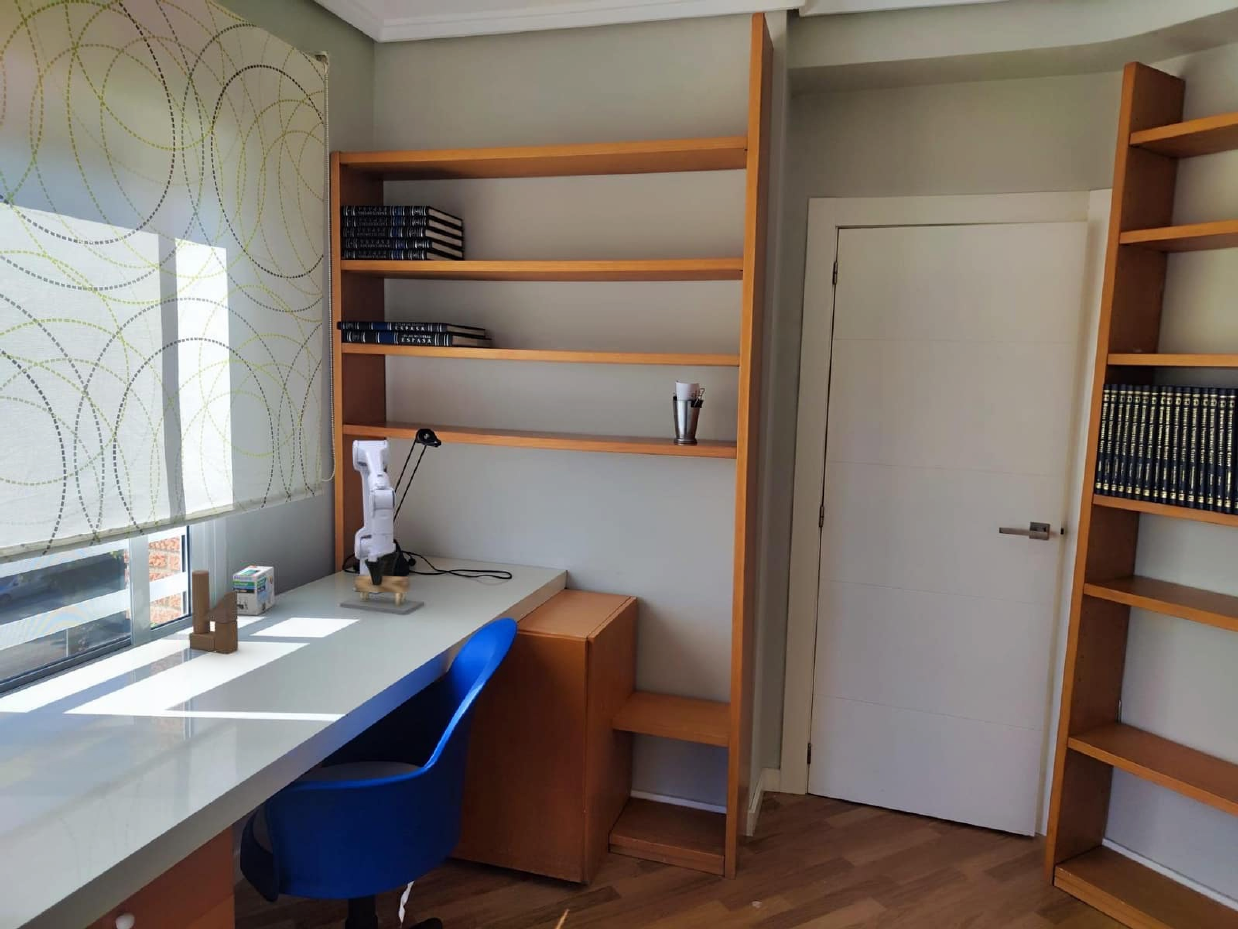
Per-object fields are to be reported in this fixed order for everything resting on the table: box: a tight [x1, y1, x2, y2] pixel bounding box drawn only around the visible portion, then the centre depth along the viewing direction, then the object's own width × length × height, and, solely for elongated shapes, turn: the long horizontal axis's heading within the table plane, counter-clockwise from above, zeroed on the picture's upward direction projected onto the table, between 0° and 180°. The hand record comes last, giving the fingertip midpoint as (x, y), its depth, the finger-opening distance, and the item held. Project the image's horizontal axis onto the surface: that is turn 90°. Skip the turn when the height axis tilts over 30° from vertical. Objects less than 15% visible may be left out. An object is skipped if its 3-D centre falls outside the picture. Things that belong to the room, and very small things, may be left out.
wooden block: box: [188, 569, 239, 655], centre depth 195 cm, size 4×11×18 cm, turn 73°
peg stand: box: [339, 591, 425, 616], centre depth 234 cm, size 10×20×4 cm, turn 73°
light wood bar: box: [354, 574, 411, 594], centre depth 234 cm, size 14×4×4 cm, turn 84°
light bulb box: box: [232, 565, 275, 616], centre depth 227 cm, size 11×7×11 cm, turn 179°
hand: (382, 581), depth 234 cm, fingers open, 7 cm apart
